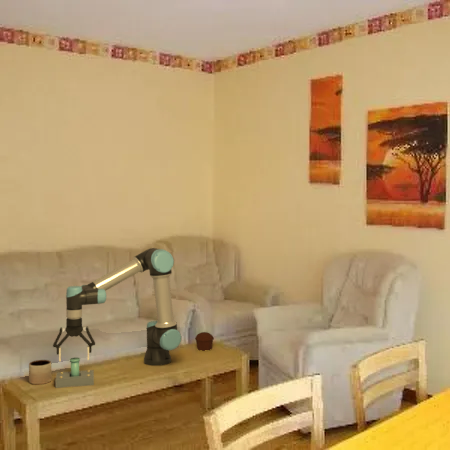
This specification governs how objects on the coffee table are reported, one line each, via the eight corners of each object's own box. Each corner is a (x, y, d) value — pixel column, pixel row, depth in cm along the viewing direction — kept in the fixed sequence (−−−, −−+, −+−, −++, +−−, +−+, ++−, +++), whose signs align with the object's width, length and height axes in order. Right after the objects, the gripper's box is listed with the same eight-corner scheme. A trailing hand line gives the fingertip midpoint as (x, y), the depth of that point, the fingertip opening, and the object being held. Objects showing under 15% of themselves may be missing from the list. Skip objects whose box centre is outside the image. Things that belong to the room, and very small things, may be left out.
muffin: (217, 348, 350) (217, 332, 350) (206, 352, 342) (206, 335, 341) (203, 345, 358) (202, 329, 357) (191, 349, 349) (191, 333, 349)
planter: (33, 378, 294) (33, 359, 293) (54, 378, 293) (54, 359, 293) (25, 385, 283) (25, 365, 282) (47, 385, 282) (47, 365, 282)
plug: (80, 380, 289) (79, 357, 288) (80, 383, 284) (79, 359, 284) (70, 381, 288) (70, 357, 287) (70, 384, 283) (69, 360, 283)
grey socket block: (93, 377, 294) (93, 368, 294) (93, 385, 282) (93, 375, 282) (57, 380, 290) (56, 371, 290) (55, 387, 278) (55, 378, 278)
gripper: (99, 315, 291) (99, 356, 292) (48, 317, 285) (48, 359, 286) (100, 318, 284) (100, 360, 285) (47, 320, 278) (47, 363, 279)
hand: (74, 360), depth 285 cm, fingers open, 13 cm apart
